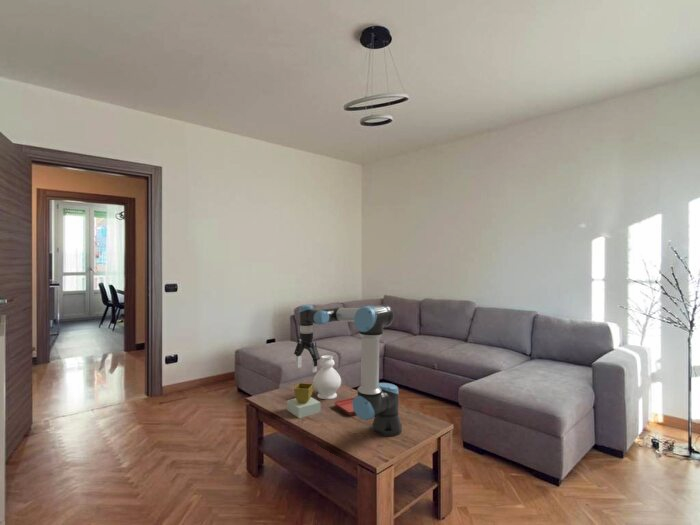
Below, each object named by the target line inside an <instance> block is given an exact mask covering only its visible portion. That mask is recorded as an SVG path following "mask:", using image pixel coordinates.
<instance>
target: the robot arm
mask: <svg viewBox="0 0 700 525" xmlns="http://www.w3.org/2000/svg"><path fill="white" fill-rule="evenodd" d="M394 320H395V312H394V309H393V308H392V307H391V306H390V305H388V304H385V303H379V304H373V305H371V304H370V305H364V306H362V307H334V308H326V309H314V305H311V304H305V305H300V306H299V339H297V342H296V346H295V349H294V352H293V354H294V355H295V356H296V365H297V366H296V368H298V369H300V368H302V366H303V365H302V363H303V362H302V361H303V360H302V358H303V356H302V353H303V352H304V350H307V351H308V352H309V355H310V356H311V358H312V360H311V367H312V368H311V371H312V373H317V372H318V361H319V360H320V359H321V357H320V356H321V355H320V353H319V351H318V350H319V349H318V347H317V342H316V341H313V339H314V324H315V325H320V326H321V325H327V323H332V322H353V324H354V326H355V329H356V330H357V331H358V334H359V336H360V337H361V351H360V352H361V353H360V354H361V358H360V359H361V362H360V366H361V367H360V386H358V387H357V395H356V396H355V398H354V397H353V398H354V399H353V402H352V405H353V409H354V412H355V413H356V414H355V415H356V416H357V417H358V418H359V419H360V420H363V421H368V420H372V419H373V421H372V424H371V426H372V427H371V430H372V432H373V433H374V434H376V435H379V436H382V437H394V436H398V435H400V434H401V433H402V431H403V425H402V423H401V419H400V416H399V399H400V398H399V397H400V396H399V395H400V393H399V387H398V386H397V385H395V384H393V383H389V382H380V380H379V379H380V378H379V376H380V371H379V370H380V338H381V337H382V336H383V335H384V334H383V333H384V331H383V330H384V328H387V327H389V326H391V325H392V323H393V322H394Z"/></svg>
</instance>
